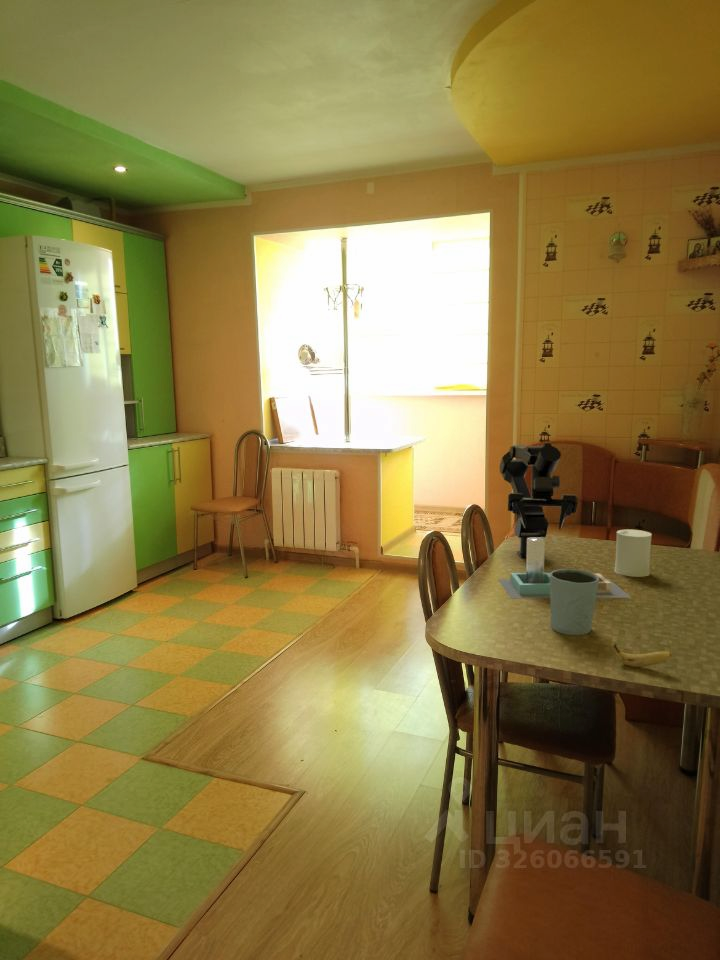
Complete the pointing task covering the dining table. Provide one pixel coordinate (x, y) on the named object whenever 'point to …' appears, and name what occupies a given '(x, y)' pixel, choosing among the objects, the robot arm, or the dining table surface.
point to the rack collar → (530, 584)
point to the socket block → (603, 584)
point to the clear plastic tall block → (535, 560)
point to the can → (633, 553)
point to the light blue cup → (572, 601)
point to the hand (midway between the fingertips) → (542, 528)
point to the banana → (642, 658)
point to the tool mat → (513, 593)
